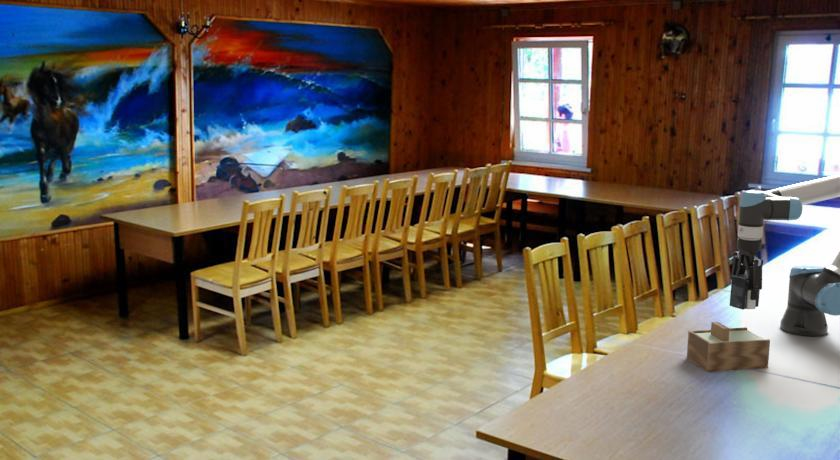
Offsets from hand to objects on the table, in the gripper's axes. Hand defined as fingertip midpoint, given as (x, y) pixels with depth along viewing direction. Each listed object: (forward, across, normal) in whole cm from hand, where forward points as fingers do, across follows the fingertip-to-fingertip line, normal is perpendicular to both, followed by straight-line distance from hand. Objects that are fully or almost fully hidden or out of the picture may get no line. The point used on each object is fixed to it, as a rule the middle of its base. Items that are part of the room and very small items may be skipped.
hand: (744, 305), depth 269 cm
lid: (+6, +16, -14) cm, 22 cm away
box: (+1, 0, 0) cm, 1 cm away
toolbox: (+13, +16, -15) cm, 26 cm away
